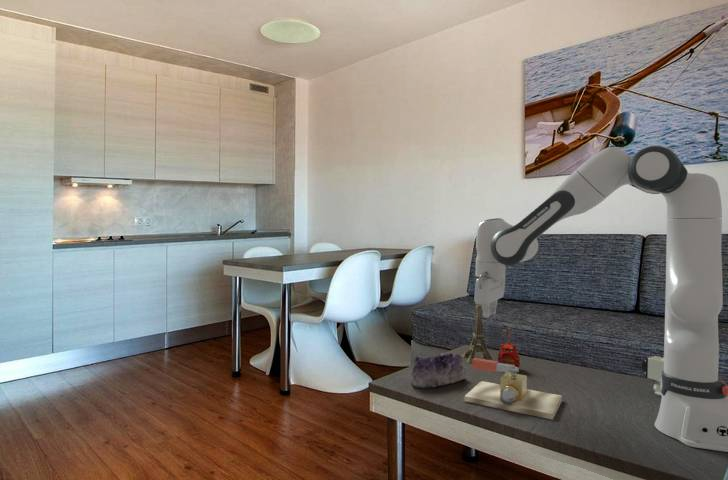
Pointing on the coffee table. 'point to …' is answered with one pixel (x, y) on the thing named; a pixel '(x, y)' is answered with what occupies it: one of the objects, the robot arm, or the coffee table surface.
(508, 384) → the valve body
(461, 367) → the geode
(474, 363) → the valve lever
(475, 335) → the eiffel tower
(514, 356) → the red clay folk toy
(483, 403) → the base board
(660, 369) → the pneumatic valve
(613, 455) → the coffee table surface
